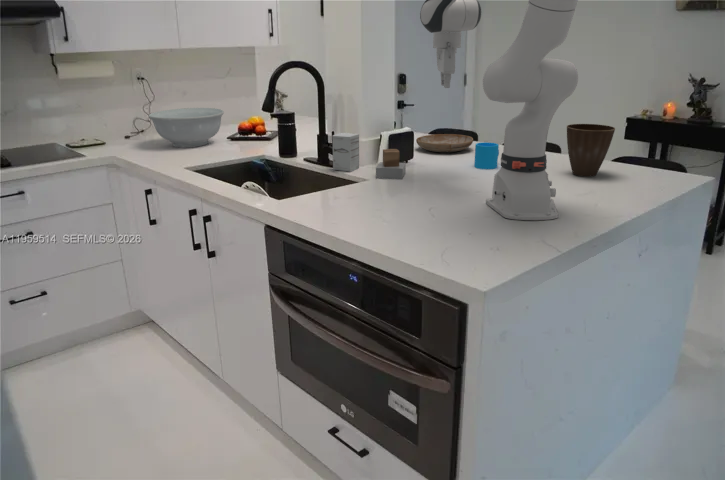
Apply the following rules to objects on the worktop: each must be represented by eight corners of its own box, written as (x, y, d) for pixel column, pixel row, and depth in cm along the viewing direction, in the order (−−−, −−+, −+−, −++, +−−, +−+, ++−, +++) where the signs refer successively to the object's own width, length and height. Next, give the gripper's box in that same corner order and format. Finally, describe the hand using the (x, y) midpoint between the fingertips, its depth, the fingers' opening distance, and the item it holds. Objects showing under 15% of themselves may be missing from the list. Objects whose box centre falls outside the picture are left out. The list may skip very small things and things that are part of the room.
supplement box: (332, 170, 198) (331, 135, 193) (342, 166, 204) (341, 132, 200) (350, 172, 195) (349, 136, 190) (360, 168, 201) (359, 133, 196)
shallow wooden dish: (422, 144, 244) (422, 132, 243) (475, 146, 237) (476, 134, 236) (410, 154, 224) (410, 142, 222) (468, 156, 217) (469, 144, 215)
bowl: (172, 154, 230) (167, 119, 224) (141, 144, 252) (136, 112, 247) (239, 144, 250) (236, 111, 245) (205, 136, 272) (202, 106, 267)
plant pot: (587, 167, 195) (593, 122, 190) (618, 177, 182) (625, 128, 177) (552, 171, 191) (557, 125, 185) (581, 181, 178) (587, 131, 172)
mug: (489, 170, 194) (490, 147, 191) (469, 167, 200) (471, 144, 197) (506, 164, 202) (508, 142, 199) (487, 161, 208) (489, 140, 205)
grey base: (402, 180, 184) (402, 168, 183) (375, 179, 186) (375, 167, 184) (405, 174, 192) (405, 162, 191) (380, 173, 194) (380, 162, 193)
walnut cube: (399, 166, 186) (399, 151, 184) (384, 166, 185) (384, 152, 184) (397, 163, 191) (397, 148, 189) (382, 163, 190) (382, 149, 188)
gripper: (461, 42, 167) (458, 89, 171) (453, 41, 186) (451, 84, 191) (440, 42, 167) (438, 89, 172) (434, 42, 186) (433, 84, 191)
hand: (445, 86), depth 181 cm, fingers open, 8 cm apart
